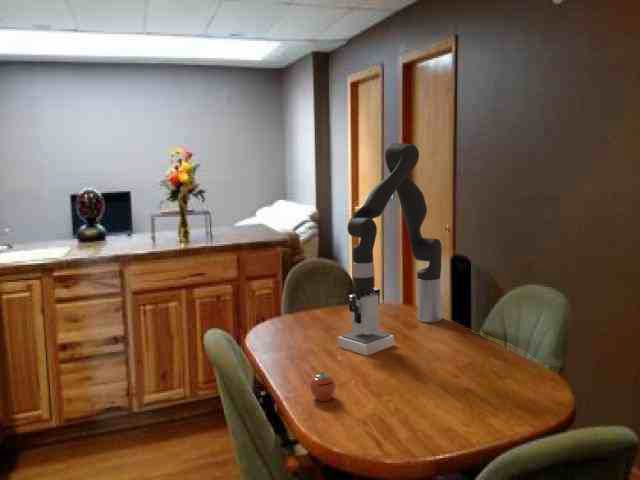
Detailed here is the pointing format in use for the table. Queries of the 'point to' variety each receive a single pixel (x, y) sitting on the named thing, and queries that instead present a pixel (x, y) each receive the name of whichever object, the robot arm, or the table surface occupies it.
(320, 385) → the tomato
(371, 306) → the small box
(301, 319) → the table surface
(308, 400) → the table surface
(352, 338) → the stack base
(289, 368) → the table surface
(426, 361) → the table surface
